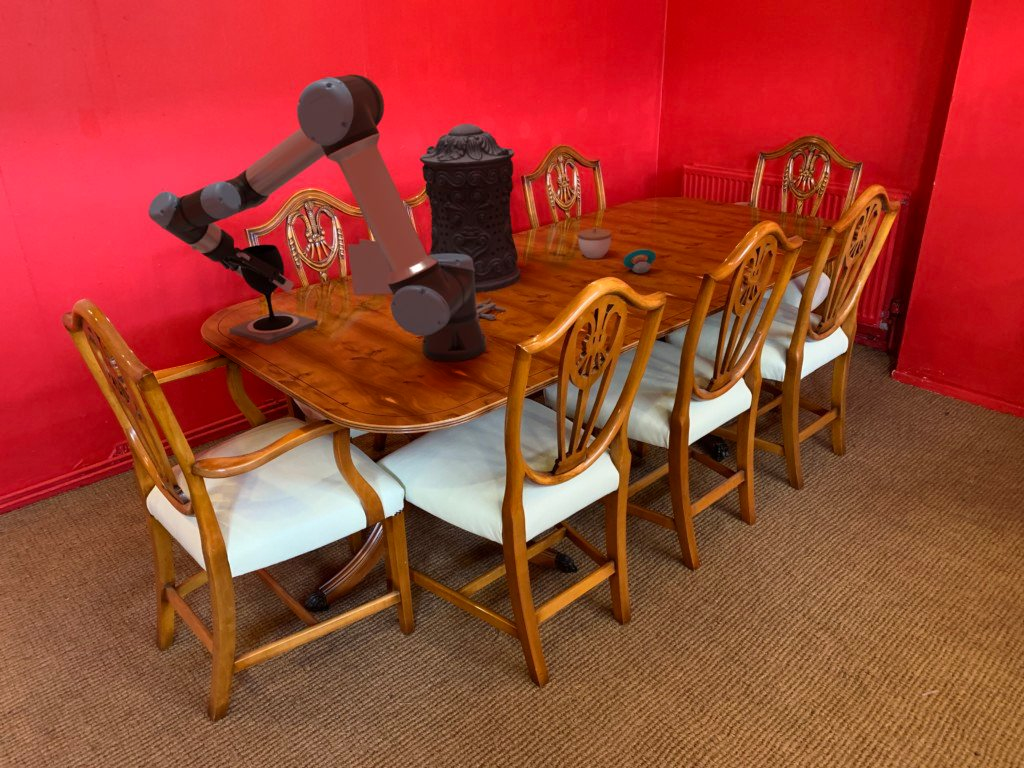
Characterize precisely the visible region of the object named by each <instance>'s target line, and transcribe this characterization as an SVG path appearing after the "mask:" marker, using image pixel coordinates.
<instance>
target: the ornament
mask: <svg viewBox="0 0 1024 768" xmlns="http://www.w3.org/2000/svg"><path fill="white" fill-rule="evenodd" d="M646 257H647V258H646ZM632 259H633V260H632ZM656 259H657V255H656V252H655V251H653V250H651V249H644V248H641V249H637V250H634V251H631V252H629V253H628V254H627V255H626V256H625V257H624V258H623V261H622V264H623V266H624V267H625V268H627V269H630V270H632V271H633V272H634V273H636V274H645V273H646V272H647V273H648V271H650V269H651V266H652V264H653V263H654V262H655V260H656ZM632 261H633V262H632Z"/></svg>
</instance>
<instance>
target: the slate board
mask: <svg viewBox="0 0 1024 768" xmlns="http://www.w3.org/2000/svg"><path fill="white" fill-rule="evenodd" d="M273 313H274V315H275V316H280V315H282V316H289V317H291V318H293V323H292V324H291V325H289V326H287V327H285V328H282V329H278V330H272V331H260V330H256V329H254V328H253V323H254V322H256V321H257V320H260V319H262V318H265V317H269V313H267V314H264V315H262V316H259V317H256V318H254V319H250V320H248V321H245V322H243V323H240V324H236V325H235V326H232V327H229V328H228V331H229V333H230V334H233V335H235V336H236V335H237V336H240V337H243V338H246V339H250V340H253V341H257V342H260V343H263V344H266V345H271V344H274V343H275V342H278V341H280V340H281V341H282V340H283V339H285V338H288V337H291V336H293V335H296V334H298V333H300V332H302V331H306V330H308V329H310V328H313V327H315V326H318V325H319V323H318V320H317V319H314V318H311V317H306V316H302V315H298V314H295V313H291V312H287V311H283V310H275V311H273ZM295 333H296V334H295Z"/></svg>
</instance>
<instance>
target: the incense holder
mask: <svg viewBox="0 0 1024 768" xmlns="http://www.w3.org/2000/svg"><path fill="white" fill-rule="evenodd" d="M514 155H515V151H514V150H513V149H512V148H507V147H502V146H500V145H499V144H498V142H497V140H496V138H495V137H494V136H493V135H492V133H491V132H488V131H484V130H483V129H482V128H481V127H480V126H478V125H476V124H473V123H472V124H471V123H464V124H463V123H462V124H458V125H456V126H454V127H452V128H451V129H450V130H449V132H448V133H446V134H443V135H441V136H440V137H439V139H438V140H437V143H435V146H434V145H429V146H428V147H427V149H426V153H424V154H422V155H421V156H420V157H419V161H420V162H421V163H422V164H423V166H421V169H422V177H423V180H424V181H425V182H426V183H425V189H424V190H425V193H426V196H427V197H428V200H429V204H430V214H431V220H430V222H431V223H430V224H431V232H430V235H431V237H430V238H431V245H430V246H431V247H430V251H429V252H430V253H429V255H433V254H448V253H451V254H464V255H468V256H470V257H471V258H472V260H473V266H474V269H475V272H474V276H475V293H476V294H481V292H483V293H489V291H490V292H495V291H499V290H503V289H506V288H508V287H511V286H513V285H515V284H516V283H518V282H520V281H521V279H522V275H521V268H519V266H518V264H517V263H518V262H519V256H518V251H517V247H516V244H515V241H514V237H513V233H514V230H513V225H512V215H511V193H512V192H513V191H514V190H513V189H514V182H513V174H514V164H513V162H514V161H512V158H513V157H514ZM502 288H503V289H502ZM498 289H499V290H498ZM494 290H495V291H494Z"/></svg>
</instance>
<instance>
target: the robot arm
mask: <svg viewBox="0 0 1024 768" xmlns="http://www.w3.org/2000/svg"><path fill="white" fill-rule="evenodd" d="M383 96H384V95H383V94H382V92H381V89H380V88H379V87H378V85H377V84H376V83H375V82H374V81H372V80H371V79H370V78H368V77H366V76H365V75H361V74H347V75H342V76H341V75H340V76H333V77H332V76H328V77H323V78H321V79H318V80H316V81H312V82H310V83H309V84H308V85H307V86H305V88H304V89H303V90H302V91H301V93H300V96H299V98H298V103H297V104H296V105H297V107H296V114H297V121H298V124H299V127H300V128H299V129H297V130H295V131H294V132H293V133H292V134H290V135H289V136H288V137H287V138H285V139H284V140H283V141H281V142H280V143H279V144H277V145H276V146H274V148H271V150H270V151H269V152H267V153H265V154H263V156H261V157H260V158H259V159H258V160H257V161H255V162H253V163H252V164H251V165H249V167H247V168H246V169H245V170H244V171H242V172H241V173H239V174H238V175H237V176H235V177H233V178H231V179H228V180H223V181H222V180H221V181H218V182H214V183H209V184H208V185H206V186H204V187H203V188H202V187H201V188H200V189H198V190H195V191H193V192H191V193H189V194H185V195H183V196H178V195H177V194H174V193H172V192H171V191H166V190H165V191H162V192H159V193H158V194H157V195H156V196H154V198H153V199H152V200H151V202H150V204H149V209H148V216H149V218H150V219H151V220H152V221H153V222H154V223H155V224H157V225H158V226H159V227H160V228H161V229H163V230H165V231H167V232H168V233H170V234H171V235H172V236H174V237H176V238H178V239H179V240H181V241H182V242H183V243H185V244H187V245H188V246H191V251H197V252H199V253H201V255H203V256H204V257H206V258H207V259H209V260H210V261H211V262H214V263H219V264H220V265H221V266H223V267H224V268H225V270H229V269H230V271H232V272H235V274H237V275H239V276H240V277H242V278H243V275H242V272H241V267H242V268H244V269H246V268H249V269H251V270H253V271H255V272H257V273H259V274H261V275H263V276H265V277H267V278H269V279H270V283H272V282H273V283H274V284H276V285H277V286H278V288H280V289H281V290H283V291H284V292H286V293H287V294H290V293H291V291H292V289H293V287H294V285H295V283H294V282H293V281H291V280H289V279H288V278H286V277H285V275H284V276H282V275H281V274H280V272H281V271H280V270H279V269H277V268H275V267H273V266H271V265H269V264H268V263H266V262H264V261H262V260H261V259H259V258H257V257H255V256H253V255H252V254H250V253H249V252H248V251H246V250H244V251H242V250H243V249H241V248H239V247H236V246H235V239H234V237H233V236H232V235H230V234H229V233H228V232H227V231H225V230H224V229H222V228H221V227H220V226H219V225H218V224H216V222H220V221H221V220H226V219H227V218H230V217H232V216H234V215H237V214H240V213H242V212H244V211H247V210H250V209H252V208H257V207H259V206H261V205H262V204H264V203H265V202H266V201H267V200H268V199H269V197H270V195H272V194H273V193H275V192H276V191H277V190H280V188H282V187H283V186H284V185H286V184H287V183H288V182H290V181H291V180H292V179H294V178H296V176H298V175H299V174H301V173H302V172H304V171H305V170H307V169H308V168H309V167H310V166H312V165H314V164H315V163H316V162H318V161H319V160H321V159H322V158H323V157H324V156H325V157H326V158H327V159H328V160H329V161H332V162H335V163H336V164H338V166H339V169H340V171H341V172H342V174H343V177H344V178H345V180H346V183H347V185H348V187H349V189H350V191H351V193H352V195H353V197H354V199H355V201H356V204H357V205H358V208H359V210H360V212H361V214H362V216H363V218H364V220H365V222H366V225H367V227H368V229H369V231H370V233H371V235H372V237H373V239H374V241H376V243H377V245H378V248H379V250H380V252H381V254H382V256H383V258H384V260H385V262H386V264H387V266H388V268H389V271H390V275H389V278H388V281H387V283H388V285H389V287H390V289H391V291H392V293H393V294H392V299H391V303H390V311H391V315H392V317H393V320H394V321H395V323H396V324H397V325H398V326H399V327H400V328H401V329H402V330H404V331H405V332H407V333H410V334H413V335H414V336H419V337H420V336H421V337H423V340H422V353H423V355H424V356H425V357H426V358H428V359H431V360H433V361H438V362H461V361H465V360H470V359H473V358H476V357H478V356H480V355H482V354H483V353H484V352H485V351H486V349H487V338H486V336H485V334H484V333H483V330H482V327H481V324H480V321H478V319H477V311H476V310H477V308H476V306H477V297H476V295H477V293H475V276H474V272H475V269H474V266H473V260H472V258H471V257H470V256H468V255H464V254H451V253H448V254H433V255H430V254H429V255H428V254H427V252H426V250H425V248H424V245H423V243H422V241H421V239H420V237H419V235H418V233H417V230H416V228H415V226H414V224H413V221H412V219H411V216H410V215H409V213H408V211H407V208H406V206H405V204H404V202H403V200H402V197H401V196H400V194H399V193H400V192H399V191H398V189H397V186H396V184H395V182H394V180H393V178H392V176H391V173H390V172H389V169H388V167H387V165H386V162H385V160H384V158H383V156H382V154H381V152H380V149H379V148H378V142H379V141H380V140H379V139H380V136H381V133H380V131H379V130H378V129H379V128H378V127H377V126H378V125H380V123H381V122H382V119H383V117H384V113H385V100H384V97H383ZM243 263H245V264H244V265H243Z"/></svg>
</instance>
